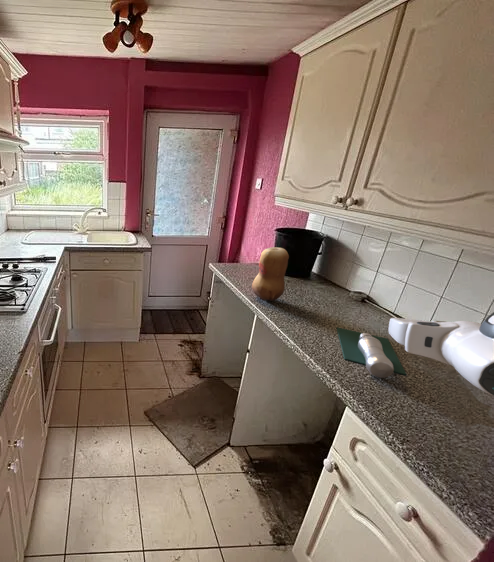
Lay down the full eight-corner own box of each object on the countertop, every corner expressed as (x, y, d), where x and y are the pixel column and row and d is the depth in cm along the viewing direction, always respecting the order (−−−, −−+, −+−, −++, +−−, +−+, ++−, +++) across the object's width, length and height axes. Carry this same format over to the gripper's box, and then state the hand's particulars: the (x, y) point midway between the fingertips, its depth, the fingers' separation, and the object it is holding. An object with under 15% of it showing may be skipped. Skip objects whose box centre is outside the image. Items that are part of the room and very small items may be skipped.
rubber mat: (406, 375, 96) (406, 374, 96) (344, 359, 103) (344, 358, 102) (387, 339, 116) (387, 338, 115) (336, 328, 122) (336, 327, 122)
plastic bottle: (363, 365, 94) (350, 332, 110) (374, 383, 94) (359, 348, 111) (389, 359, 90) (371, 326, 107) (400, 377, 91) (381, 342, 107)
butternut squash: (244, 294, 151) (254, 244, 142) (269, 293, 154) (280, 243, 145) (261, 306, 139) (273, 252, 129) (288, 305, 141) (301, 252, 132)
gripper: (556, 338, 54) (509, 316, 66) (401, 322, 64) (385, 306, 76) (547, 372, 55) (503, 345, 67) (396, 351, 65) (381, 330, 77)
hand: (439, 324), depth 71 cm, fingers closed
